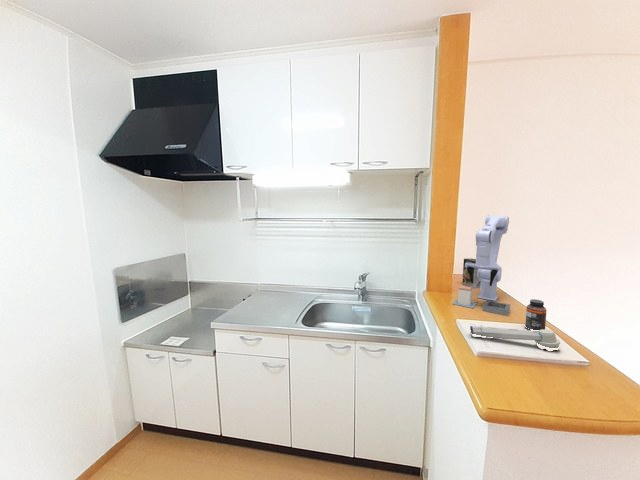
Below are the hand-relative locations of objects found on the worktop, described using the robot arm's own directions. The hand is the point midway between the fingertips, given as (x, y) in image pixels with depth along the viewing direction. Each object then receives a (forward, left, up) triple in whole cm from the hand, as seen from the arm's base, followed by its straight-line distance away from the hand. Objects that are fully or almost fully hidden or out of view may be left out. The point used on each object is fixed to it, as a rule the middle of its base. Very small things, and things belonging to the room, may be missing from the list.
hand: (481, 284), depth 127 cm
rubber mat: (+3, -6, -10) cm, 12 cm away
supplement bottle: (+17, +21, -11) cm, 29 cm away
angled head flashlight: (+35, +15, -11) cm, 40 cm away
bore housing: (+3, +7, -10) cm, 13 cm away
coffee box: (-35, -10, -11) cm, 38 cm away
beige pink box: (+3, -6, -10) cm, 12 cm away
